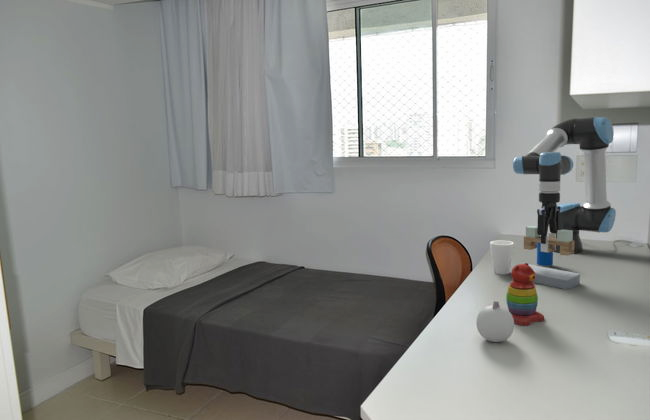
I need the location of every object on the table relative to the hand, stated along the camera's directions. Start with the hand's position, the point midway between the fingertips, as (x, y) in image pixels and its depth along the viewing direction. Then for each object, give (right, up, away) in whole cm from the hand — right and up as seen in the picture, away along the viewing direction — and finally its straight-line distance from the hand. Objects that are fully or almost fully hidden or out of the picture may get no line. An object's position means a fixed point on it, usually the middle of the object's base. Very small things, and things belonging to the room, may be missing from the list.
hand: (548, 250), depth 196 cm
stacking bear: (-25, -19, -37) cm, 49 cm away
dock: (-1, -12, +1) cm, 12 cm away
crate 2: (+4, +4, -6) cm, 8 cm away
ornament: (-39, -22, -53) cm, 69 cm away
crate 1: (-4, +5, +4) cm, 8 cm away
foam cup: (-13, -11, +16) cm, 23 cm away
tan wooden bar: (0, 0, 0) cm, 0 cm away
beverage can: (+9, -9, +23) cm, 26 cm away
